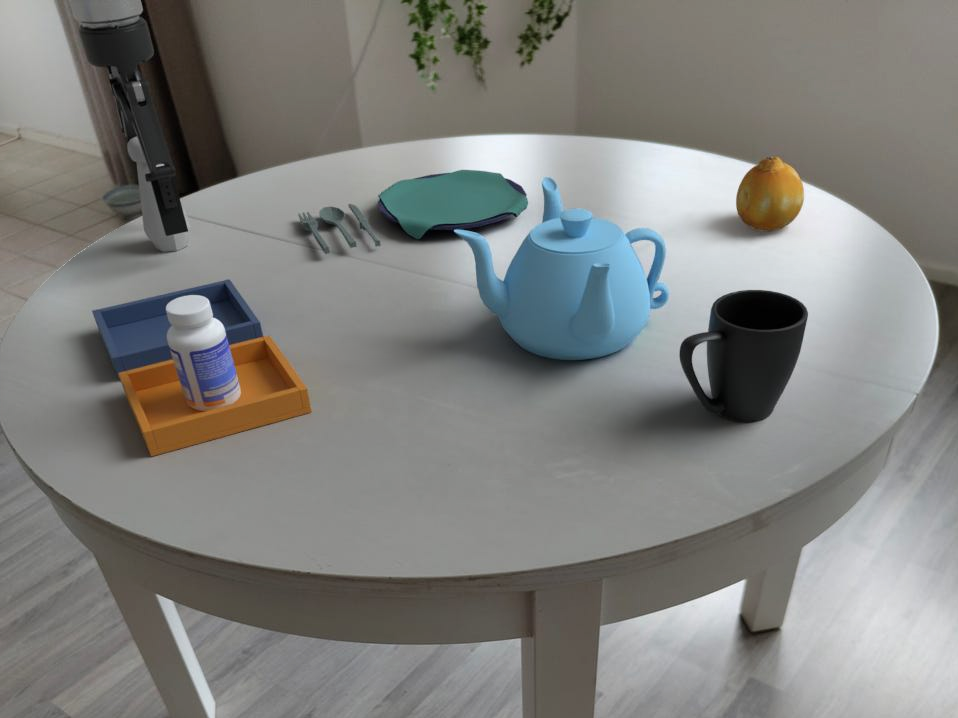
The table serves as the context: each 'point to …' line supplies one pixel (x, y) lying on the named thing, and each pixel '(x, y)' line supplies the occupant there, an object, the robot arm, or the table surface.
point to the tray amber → (178, 425)
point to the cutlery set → (434, 204)
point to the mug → (747, 352)
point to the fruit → (770, 195)
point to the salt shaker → (154, 206)
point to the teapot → (572, 283)
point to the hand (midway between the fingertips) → (165, 215)
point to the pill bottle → (201, 354)
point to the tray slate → (168, 324)
